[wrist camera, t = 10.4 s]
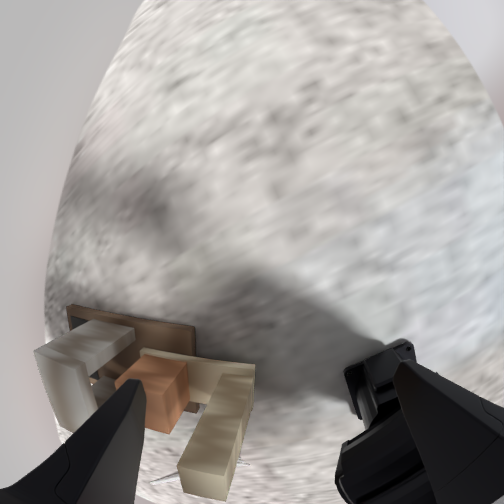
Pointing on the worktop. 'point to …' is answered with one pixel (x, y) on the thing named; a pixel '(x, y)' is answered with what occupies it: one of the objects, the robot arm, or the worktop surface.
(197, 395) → the beige orange stepped block
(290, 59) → the worktop surface
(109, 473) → the robot arm
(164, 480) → the fork
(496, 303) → the worktop surface
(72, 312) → the tunnel
